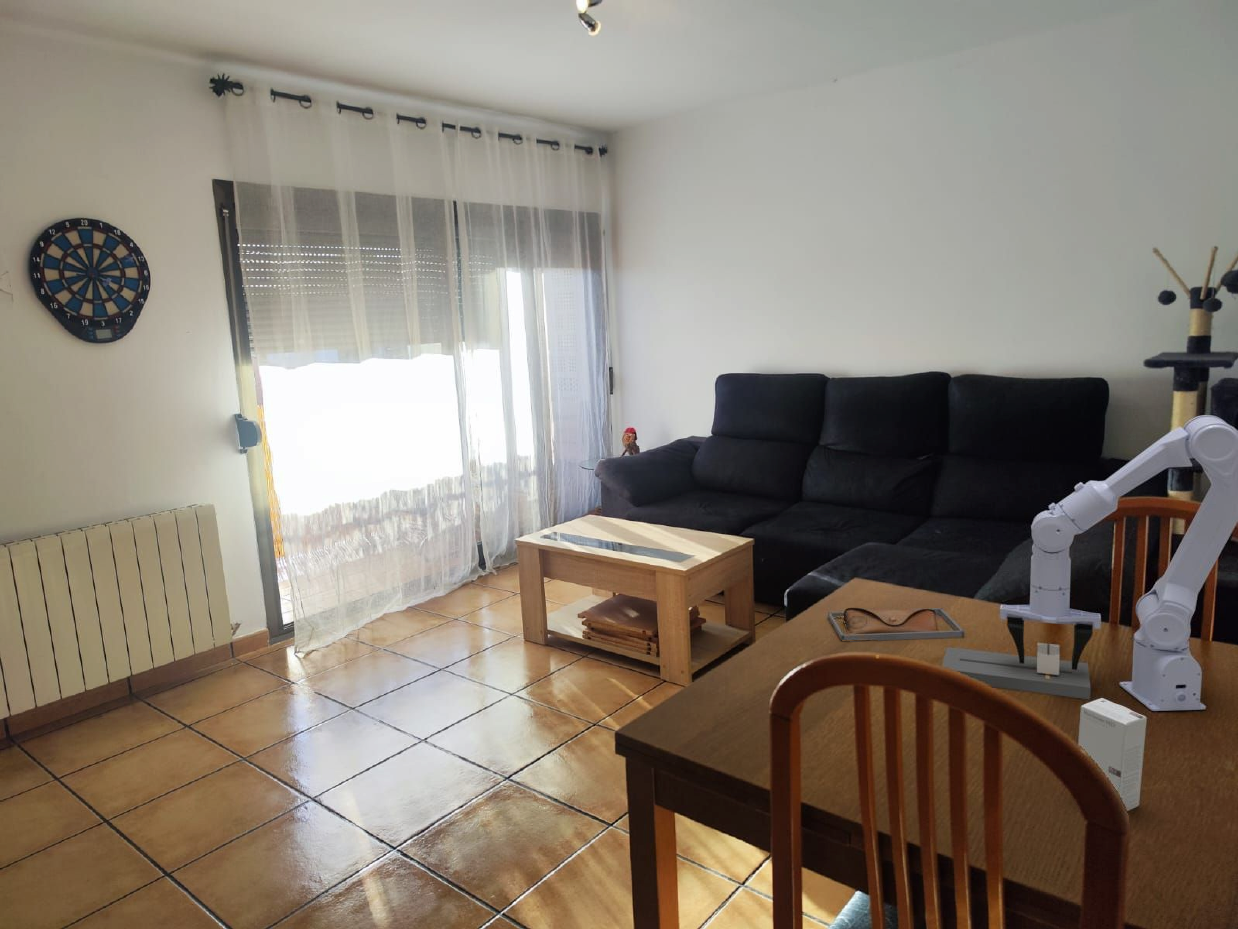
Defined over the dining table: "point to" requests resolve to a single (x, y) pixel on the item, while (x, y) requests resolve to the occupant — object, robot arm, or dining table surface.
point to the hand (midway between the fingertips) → (1047, 664)
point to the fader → (1048, 658)
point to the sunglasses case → (889, 620)
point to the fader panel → (1019, 672)
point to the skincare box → (1115, 745)
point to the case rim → (907, 635)
